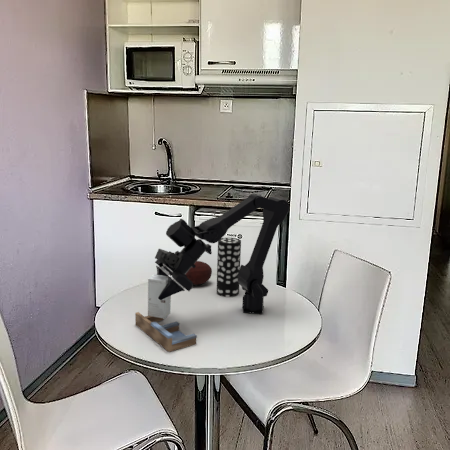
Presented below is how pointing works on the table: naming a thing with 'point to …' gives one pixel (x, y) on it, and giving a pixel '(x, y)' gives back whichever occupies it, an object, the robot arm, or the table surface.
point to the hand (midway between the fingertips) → (155, 295)
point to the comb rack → (164, 332)
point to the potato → (199, 273)
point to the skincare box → (154, 290)
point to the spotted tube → (228, 266)
